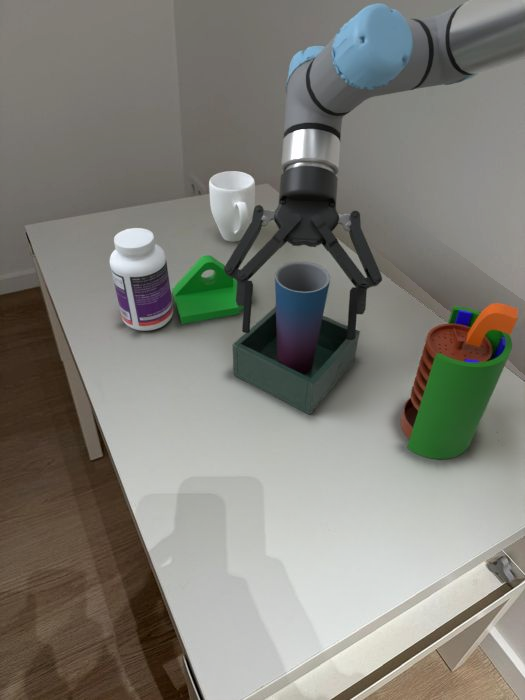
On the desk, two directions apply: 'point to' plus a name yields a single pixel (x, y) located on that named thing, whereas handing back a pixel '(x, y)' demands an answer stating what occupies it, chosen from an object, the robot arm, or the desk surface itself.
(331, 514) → the desk surface
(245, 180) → the mug
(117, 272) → the pill bottle
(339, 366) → the holder
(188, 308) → the bracket
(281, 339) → the cup
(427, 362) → the coaster caddy
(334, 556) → the desk surface
